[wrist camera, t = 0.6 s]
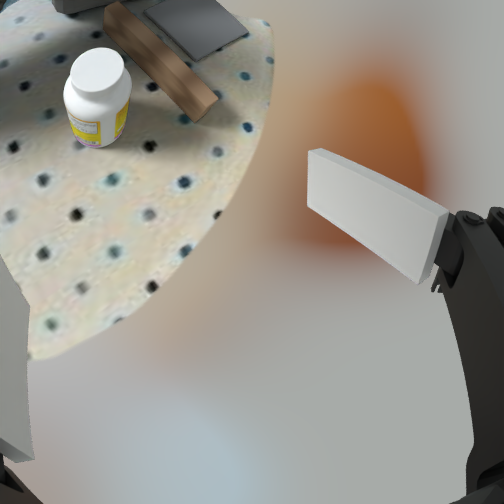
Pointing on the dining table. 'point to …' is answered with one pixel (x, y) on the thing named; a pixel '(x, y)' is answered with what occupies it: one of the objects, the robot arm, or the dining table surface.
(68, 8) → the alarm clock
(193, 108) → the walnut rail
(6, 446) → the robot arm
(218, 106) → the dining table surface
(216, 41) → the rubber mat
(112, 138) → the supplement bottle
